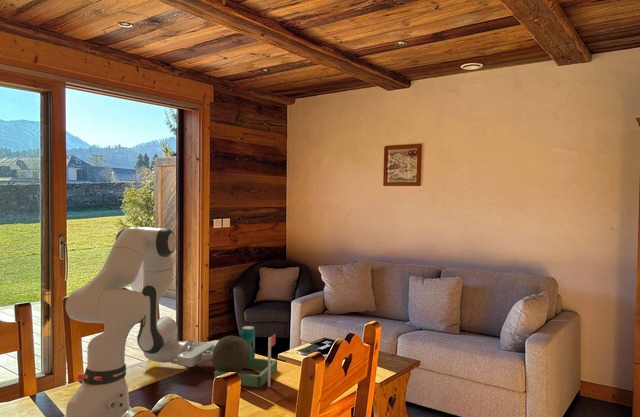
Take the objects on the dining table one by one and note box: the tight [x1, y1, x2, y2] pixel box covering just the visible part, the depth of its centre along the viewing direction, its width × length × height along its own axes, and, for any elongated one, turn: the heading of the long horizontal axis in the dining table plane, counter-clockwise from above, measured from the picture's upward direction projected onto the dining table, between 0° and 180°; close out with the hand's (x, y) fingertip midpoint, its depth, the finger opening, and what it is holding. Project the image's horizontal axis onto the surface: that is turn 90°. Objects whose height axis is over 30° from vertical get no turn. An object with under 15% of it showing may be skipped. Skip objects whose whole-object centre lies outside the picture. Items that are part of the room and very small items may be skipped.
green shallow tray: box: [213, 334, 278, 388], centre depth 194 cm, size 19×22×18 cm
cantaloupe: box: [212, 335, 250, 373], centre depth 196 cm, size 14×14×15 cm
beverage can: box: [240, 325, 256, 358], centre depth 211 cm, size 6×6×15 cm
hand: (214, 356), depth 198 cm, fingers closed
